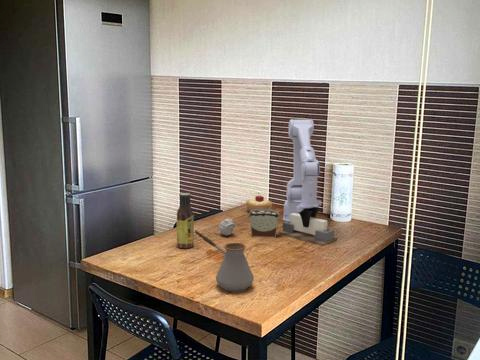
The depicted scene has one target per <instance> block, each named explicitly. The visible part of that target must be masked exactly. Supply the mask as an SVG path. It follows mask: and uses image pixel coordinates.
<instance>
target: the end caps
mask: <svg viewBox="0 0 480 360" xmlns="http://www.w3.org/2000/svg"><path fill="white" fill-rule="evenodd" d="M282 231H285V232H288V233H293V232H294V224H290V220H289V221H284V222H282ZM334 237H335V229H333V228H332V229H331V228H328V227H327V231H326V232H322V231H318V230H316V231H315V240H319V241H322V242H327V241H330V240H332V239H334Z"/></svg>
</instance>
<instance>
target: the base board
mask: <svg viewBox="0 0 480 360" xmlns="http://www.w3.org/2000/svg"><path fill="white" fill-rule="evenodd" d="M278 234H279V235H281V236H286V237H289V238H293V239H297V240H301V241H304V242H308V243H311V244H316V245H318V246H326V245H327V244H330V243H332V242H335V241H337V240H338V237H336V236H334V239H332V240H330V241H327V242H322V241H319V240H315V235H313V234H309V233H305V232H301V231H297V230H294V232H293V233H288V232H285V231H283V230H280V231H279V232H278Z"/></svg>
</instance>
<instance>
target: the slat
mask: <svg viewBox="0 0 480 360" xmlns="http://www.w3.org/2000/svg"><path fill="white" fill-rule="evenodd" d="M290 224H294V230H297V231H301V232H305V233H309V234H313V235H315V231H316V230H318V231H322V232H326V231H327V228H328V220H326V219H322V218H317V217H315V218H314V217H310V221H309V227H308V228H307V227H303V223H302V219H301V216H300V214H296V213H292V214H290Z"/></svg>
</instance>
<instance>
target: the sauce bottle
mask: <svg viewBox="0 0 480 360" xmlns="http://www.w3.org/2000/svg"><path fill="white" fill-rule="evenodd" d="M191 197H192V195H191V193H189V192H181V193H179V207H178V208H177V211H176V245H177V248H179V249H190V248H192V247H193V246H194V241H195V240H194V239H195V233H194V232H195V231H194V230H195V229H194V228H195V226H194V225H195V221H194V219H195V217H194V216H195V214H194V212H193V210H192V206H191ZM193 233H194V234H193ZM192 235H193V236H192Z"/></svg>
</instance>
